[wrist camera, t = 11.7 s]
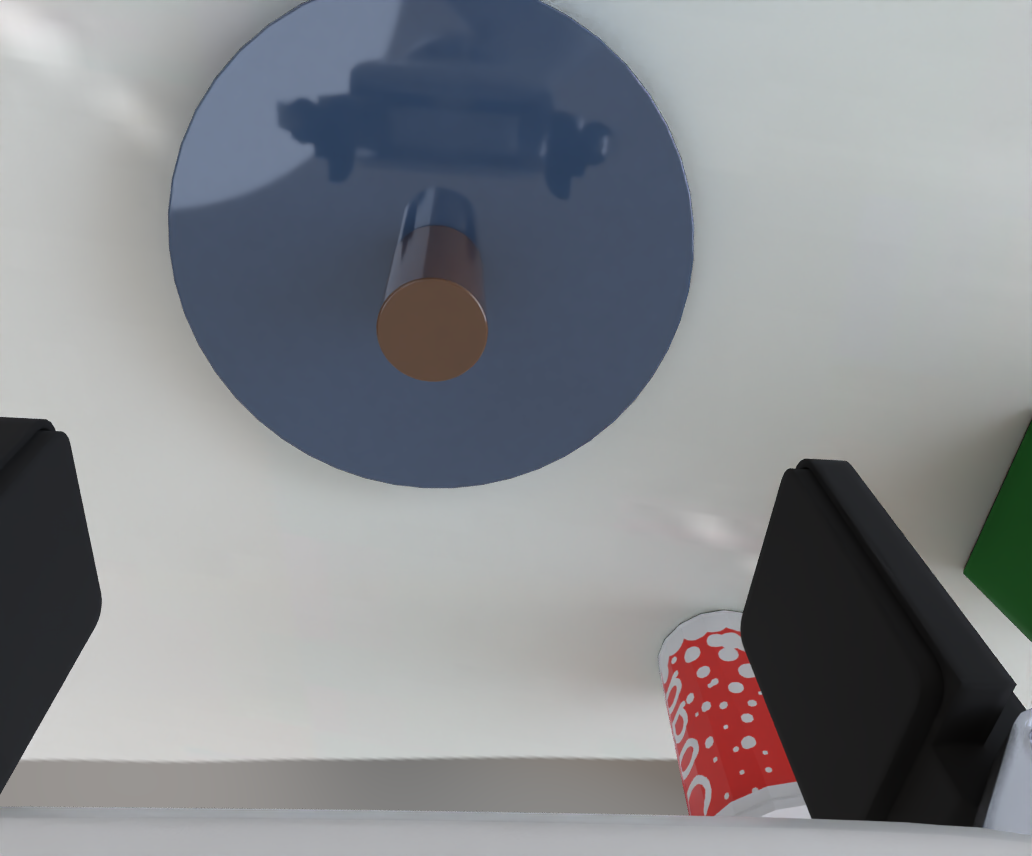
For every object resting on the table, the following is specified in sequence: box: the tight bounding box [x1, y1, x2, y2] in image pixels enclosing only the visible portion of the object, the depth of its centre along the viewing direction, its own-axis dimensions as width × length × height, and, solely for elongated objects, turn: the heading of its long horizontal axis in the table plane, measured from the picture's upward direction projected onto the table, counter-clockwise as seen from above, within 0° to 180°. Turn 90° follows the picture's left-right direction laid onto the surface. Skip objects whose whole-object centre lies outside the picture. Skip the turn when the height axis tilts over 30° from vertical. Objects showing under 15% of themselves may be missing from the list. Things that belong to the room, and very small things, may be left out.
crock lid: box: [168, 0, 694, 488], centre depth 22 cm, size 15×15×6 cm
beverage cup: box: [658, 610, 811, 819], centre depth 26 cm, size 6×6×14 cm
